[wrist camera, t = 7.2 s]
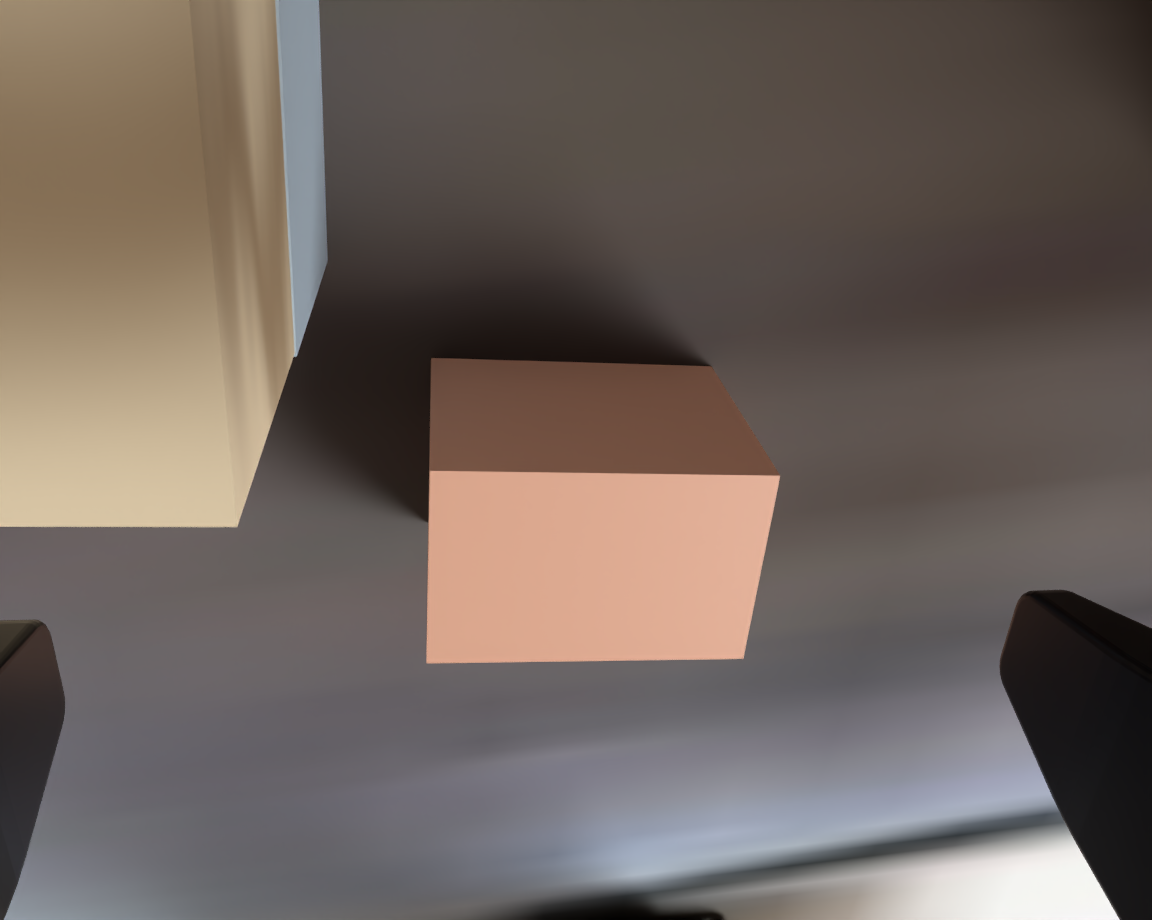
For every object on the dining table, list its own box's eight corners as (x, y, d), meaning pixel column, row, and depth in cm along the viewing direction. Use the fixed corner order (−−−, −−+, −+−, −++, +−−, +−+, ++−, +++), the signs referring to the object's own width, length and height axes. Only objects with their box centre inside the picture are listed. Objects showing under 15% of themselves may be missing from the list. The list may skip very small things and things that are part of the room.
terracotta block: (710, 365, 22) (779, 476, 17) (685, 522, 23) (743, 658, 19) (430, 356, 21) (430, 470, 16) (428, 520, 23) (426, 663, 18)
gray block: (327, 261, 19) (296, 356, 15) (110, 251, 19) (12, 348, 14) (315, -89, 17) (273, -96, 12) (61, -113, 16) (-79, -130, 12)
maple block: (294, 353, 15) (237, 527, 11) (11, 346, 14) (-175, 527, 10) (269, -102, 12) (177, -121, 8) (-83, -133, 12) (-394, -173, 7)
